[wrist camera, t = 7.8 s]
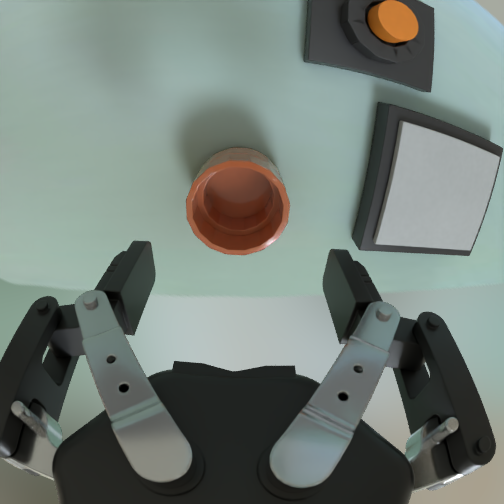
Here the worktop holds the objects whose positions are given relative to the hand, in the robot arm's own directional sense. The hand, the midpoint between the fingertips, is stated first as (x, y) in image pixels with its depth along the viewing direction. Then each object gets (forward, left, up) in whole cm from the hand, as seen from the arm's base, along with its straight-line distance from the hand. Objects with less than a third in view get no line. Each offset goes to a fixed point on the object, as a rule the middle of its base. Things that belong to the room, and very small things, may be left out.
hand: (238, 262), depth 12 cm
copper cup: (0, 0, -10) cm, 10 cm away
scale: (+17, +2, -10) cm, 20 cm away
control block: (+9, +14, -10) cm, 19 cm away
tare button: (+9, +14, -8) cm, 18 cm away
